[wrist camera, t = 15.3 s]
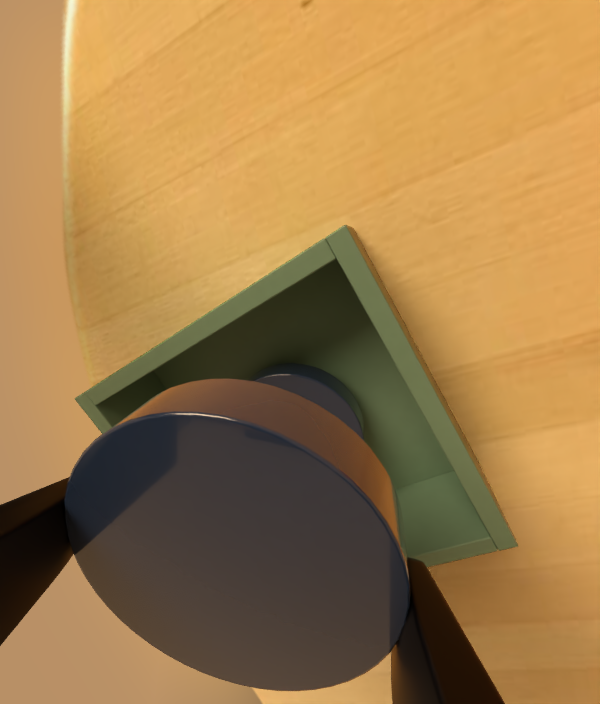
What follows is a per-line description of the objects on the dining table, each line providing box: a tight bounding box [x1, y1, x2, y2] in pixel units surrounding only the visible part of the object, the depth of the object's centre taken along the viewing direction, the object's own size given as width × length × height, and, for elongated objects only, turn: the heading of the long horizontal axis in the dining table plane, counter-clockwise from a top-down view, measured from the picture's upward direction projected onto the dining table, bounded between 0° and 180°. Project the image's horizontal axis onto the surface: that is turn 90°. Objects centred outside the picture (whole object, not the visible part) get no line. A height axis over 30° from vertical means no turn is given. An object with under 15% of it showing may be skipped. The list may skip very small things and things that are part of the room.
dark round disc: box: [248, 363, 365, 441], centre depth 18 cm, size 7×7×2 cm
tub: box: [75, 225, 518, 567], centre depth 17 cm, size 15×15×5 cm
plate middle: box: [64, 379, 411, 691], centre depth 8 cm, size 7×7×2 cm
